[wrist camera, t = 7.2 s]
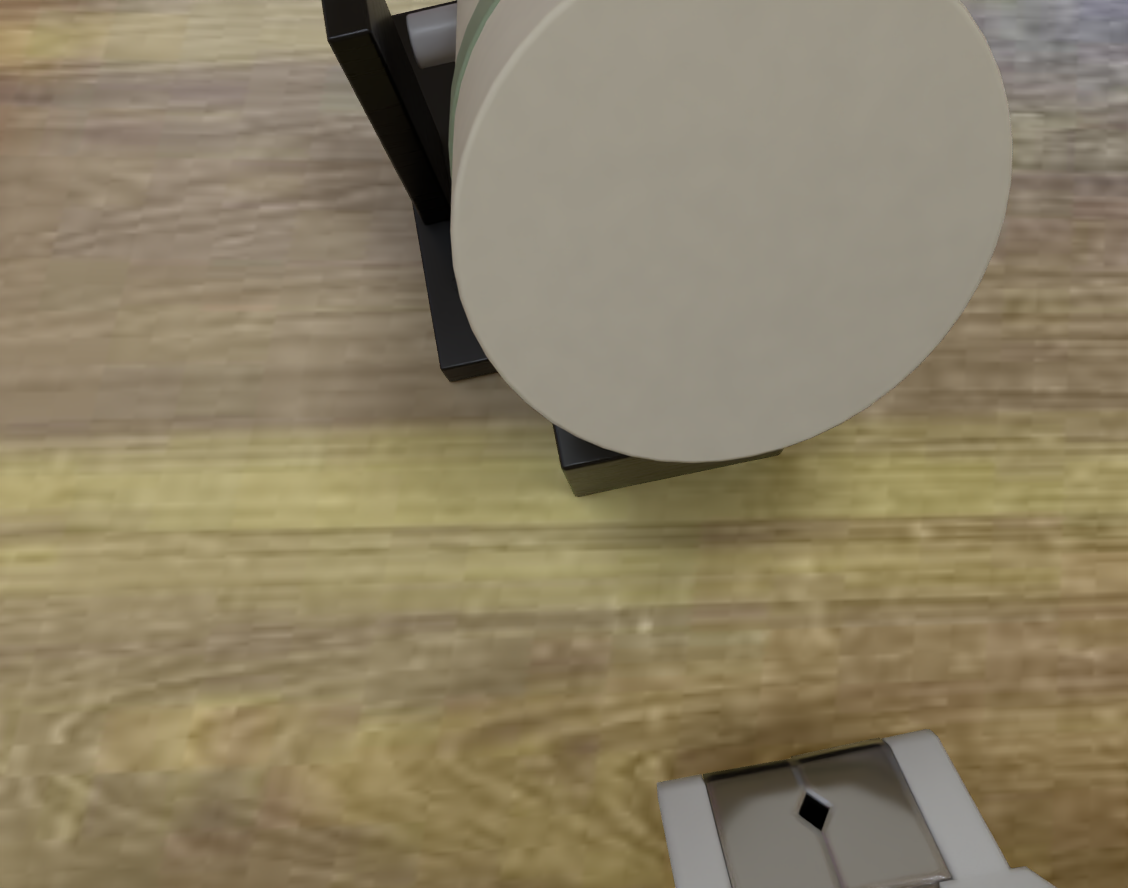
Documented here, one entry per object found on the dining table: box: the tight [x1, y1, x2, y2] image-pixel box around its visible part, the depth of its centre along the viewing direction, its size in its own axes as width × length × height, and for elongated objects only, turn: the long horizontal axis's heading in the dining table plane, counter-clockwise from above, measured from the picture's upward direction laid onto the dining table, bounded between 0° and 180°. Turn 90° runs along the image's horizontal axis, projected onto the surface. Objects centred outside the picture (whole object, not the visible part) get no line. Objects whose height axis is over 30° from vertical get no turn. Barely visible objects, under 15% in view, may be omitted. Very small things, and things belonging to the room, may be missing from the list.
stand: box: [321, 0, 784, 497], centre depth 19 cm, size 14×10×8 cm
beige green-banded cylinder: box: [406, 0, 1013, 463], centre depth 13 cm, size 12×7×5 cm
